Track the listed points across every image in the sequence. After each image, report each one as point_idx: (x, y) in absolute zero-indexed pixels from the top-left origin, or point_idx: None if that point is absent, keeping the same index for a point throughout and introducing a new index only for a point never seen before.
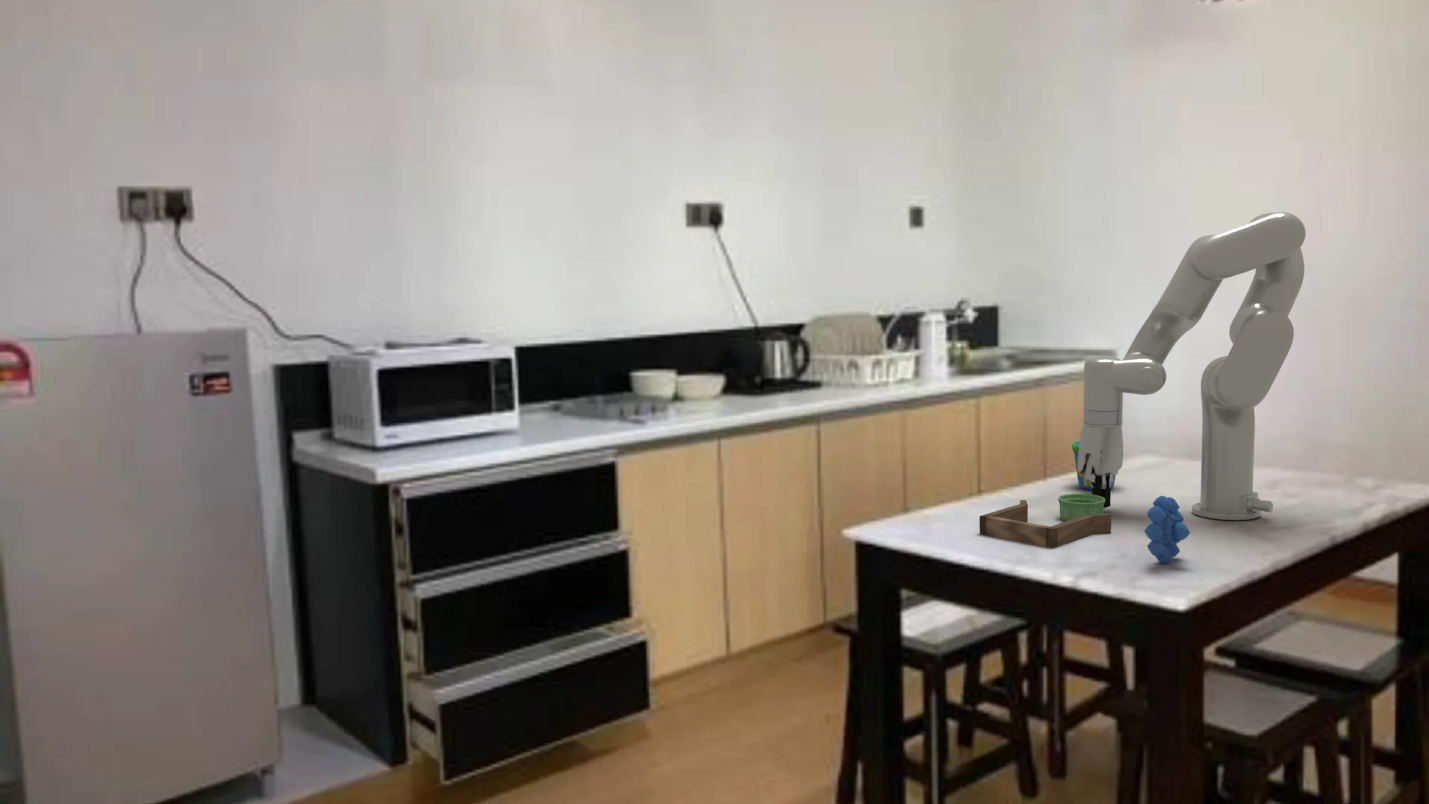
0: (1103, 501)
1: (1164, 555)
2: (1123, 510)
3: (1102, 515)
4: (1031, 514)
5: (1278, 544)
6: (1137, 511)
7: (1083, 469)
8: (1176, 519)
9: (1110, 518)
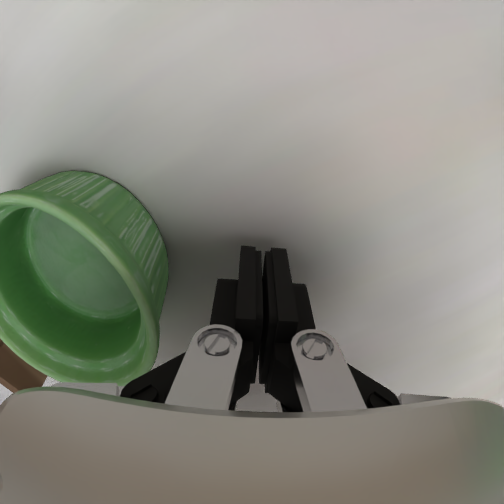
0: None
1: None
2: (344, 314)
3: (11, 391)
4: (21, 52)
5: None
6: (349, 349)
7: (90, 427)
8: None
9: None
